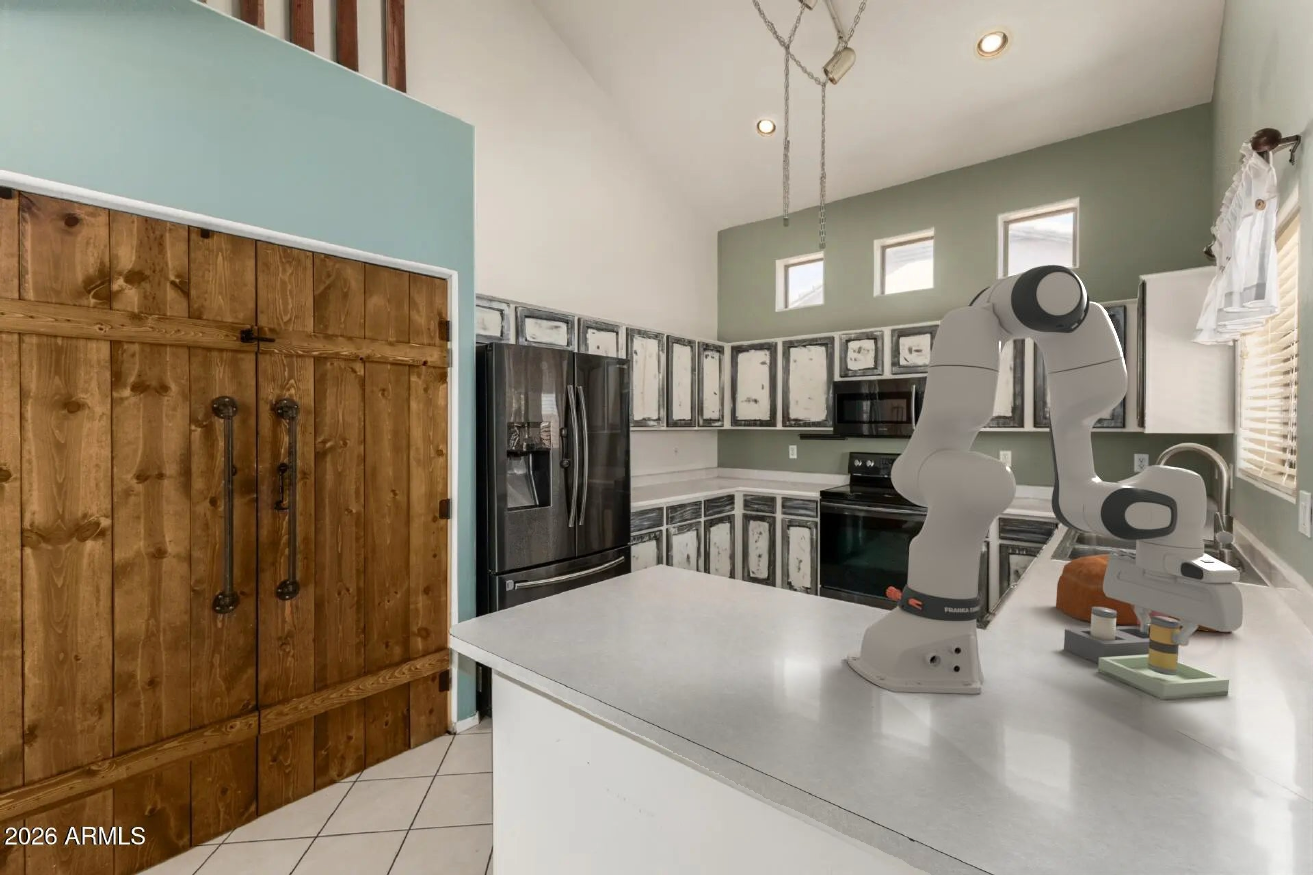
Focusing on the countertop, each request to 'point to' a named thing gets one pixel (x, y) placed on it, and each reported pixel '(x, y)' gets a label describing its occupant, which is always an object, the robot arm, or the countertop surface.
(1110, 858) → the countertop surface
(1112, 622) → the ball
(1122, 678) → the tray
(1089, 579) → the bread
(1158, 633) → the cylinder
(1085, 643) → the fuse holder
